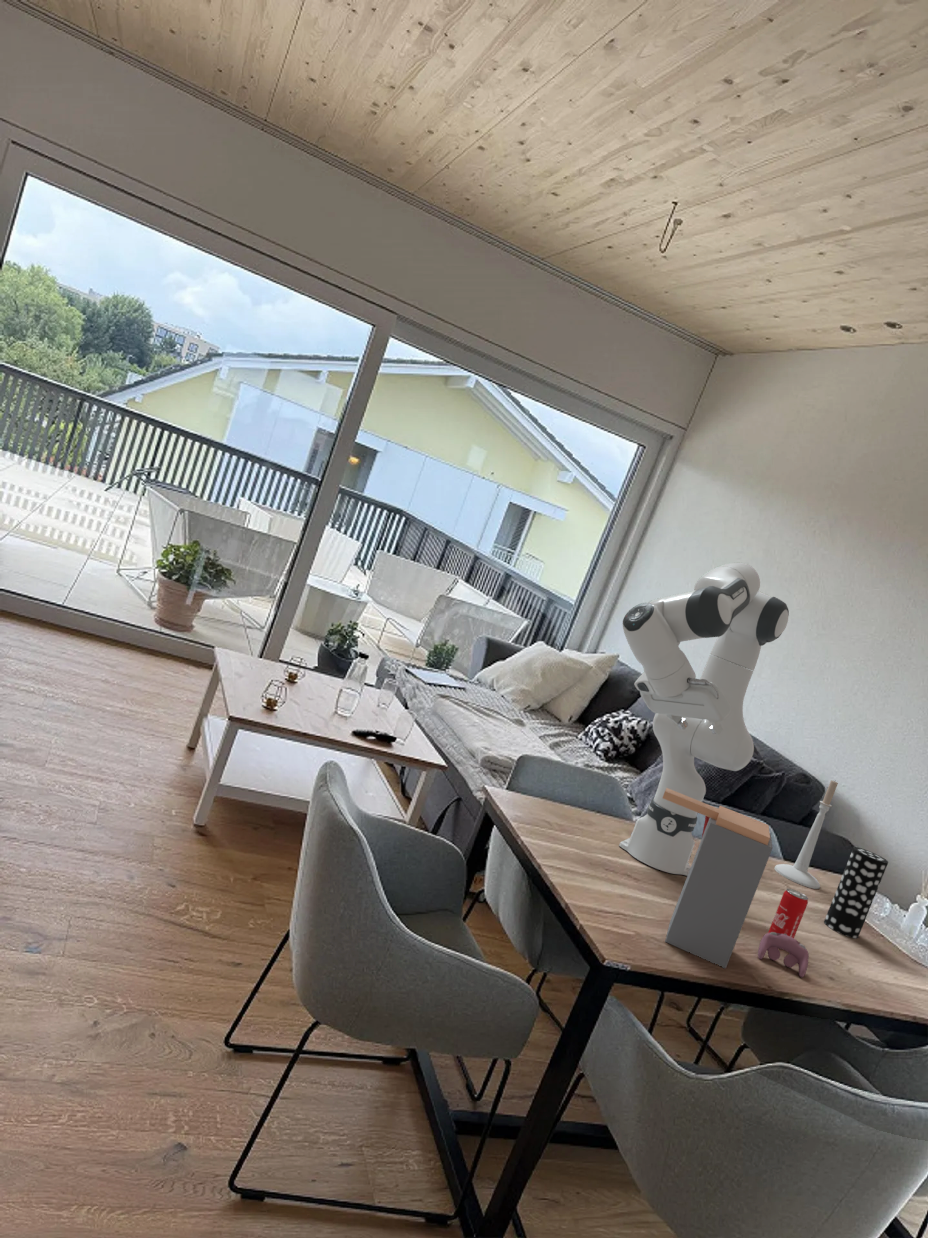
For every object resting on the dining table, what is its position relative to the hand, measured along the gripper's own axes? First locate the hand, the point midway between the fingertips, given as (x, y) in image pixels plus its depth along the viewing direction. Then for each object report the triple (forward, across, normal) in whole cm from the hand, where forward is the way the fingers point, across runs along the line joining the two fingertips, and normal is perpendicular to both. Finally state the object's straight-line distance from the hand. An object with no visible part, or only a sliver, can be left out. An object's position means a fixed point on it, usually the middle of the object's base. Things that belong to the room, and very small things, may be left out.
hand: (700, 729), depth 196 cm
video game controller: (+46, -10, +19) cm, 50 cm away
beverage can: (+51, -2, +11) cm, 52 cm away
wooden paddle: (+11, -7, +13) cm, 18 cm away
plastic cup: (+66, +46, -17) cm, 82 cm away
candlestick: (+88, +37, -32) cm, 101 cm away
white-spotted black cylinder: (+78, +8, -14) cm, 79 cm away
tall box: (+30, -5, +30) cm, 42 cm away
